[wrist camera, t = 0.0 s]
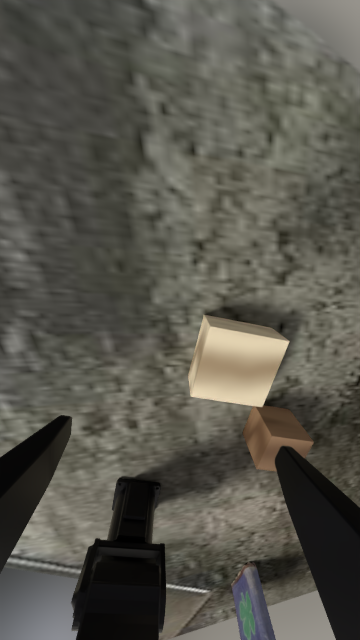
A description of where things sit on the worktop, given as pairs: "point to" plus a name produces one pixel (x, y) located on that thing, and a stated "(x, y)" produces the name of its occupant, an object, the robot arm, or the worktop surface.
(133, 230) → the worktop surface
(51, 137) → the worktop surface
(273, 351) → the beech block
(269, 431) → the walnut cube
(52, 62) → the worktop surface
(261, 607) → the flask
